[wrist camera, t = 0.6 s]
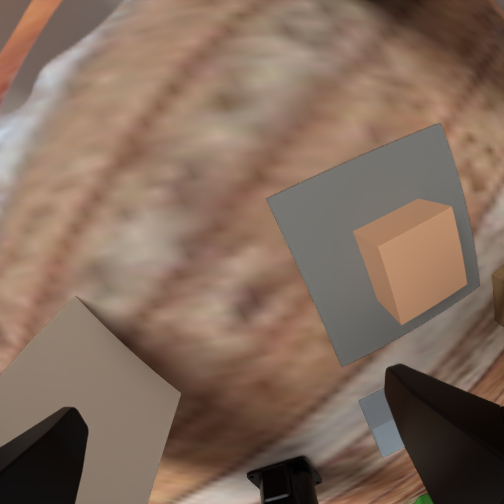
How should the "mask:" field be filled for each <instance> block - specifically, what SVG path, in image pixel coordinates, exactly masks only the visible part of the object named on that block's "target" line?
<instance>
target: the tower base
mask: <svg viewBox="0 0 504 504" xmlns="http://www.w3.org/2000/svg"><path fill="white" fill-rule="evenodd" d="M266 200H267V202H268V204H269V207H270V209H271V211H272V213H273V215H274V217H275V219H276V221H277V223H278V225H279V228H280V230H281V232H282V234H283V236H284V238H285V240H286V243H287V245H288V247H289V249H290V251H291V253H292V255H293V258H294V260H295V262H296V264H297V266H298V269H299V271H300V273H301V275H302V277H303V280H304V282H305V284H306V286H307V288H308V291H309V293H310V295H311V297H312V300H313V302H314V304H315V306H316V309H317V311H318V313H319V315H320V318H321V320H322V322H323V325H324V327H325V329H326V331H327V334H328V336H329V338H330V341H331V343H332V345H333V348H334V350H335V352H336V355H337V357H338V359H339V362H340V364H341V366H342V367H344V366H346V365H348V364H350V363H352V362H354V361H356V360H358V359H360V358H362V357H364V356H366V355H368V354H370V353H372V352H373V351H375V350H377V349H379V348H381V347H383V346H385V345H387V344H388V343H390V342H392V341H394V340H396V339H397V338H399V337H401V336H403V335H404V334H406V333H408V332H410V331H411V330H413V329H415V328H416V327H418V326H420V325H421V324H423V323H425V322H426V321H428V320H430V319H431V318H433V317H434V316H436V315H438V314H439V313H441V312H442V311H444V310H445V309H447V308H449V307H450V306H452V305H453V304H455V303H456V302H458V301H459V300H460V299H462V298H463V297H465V296H466V295H468V294H469V293H471V292H472V291H473V290H475V289H476V288H478V287H479V286H480V282H479V274H478V266H477V259H476V253H475V247H474V241H473V235H472V230H471V225H470V221H469V216H468V211H467V207H466V203H465V199H464V195H463V191H462V187H461V183H460V180H459V176H458V173H457V170H456V166H455V163H454V160H453V157H452V153H451V150H450V147H449V145H448V142H447V139H446V136H445V133H444V130H443V128H442V125H441V123H438V124H435V125H432V126H429V127H427V128H425V129H422V130H420V131H417V132H415V133H412V134H410V135H407V136H405V137H403V138H400V139H398V140H395V141H393V142H391V143H388V144H386V145H383V146H381V147H379V148H376V149H374V150H372V151H369V152H367V153H365V154H362V155H360V156H358V157H356V158H353V159H351V160H349V161H346V162H344V163H342V164H340V165H337V166H335V167H333V168H331V169H329V170H326V171H324V172H322V173H320V174H317V175H315V176H313V177H311V178H309V179H307V180H304V181H302V182H300V183H298V184H296V185H294V186H291V187H289V188H287V189H285V190H283V191H281V192H279V193H277V194H274V195H272V196H270V197H268V198H266Z"/></svg>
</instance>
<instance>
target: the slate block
mask: <svg viewBox="0 0 504 504" xmlns="http://www.w3.org/2000/svg"><path fill="white" fill-rule="evenodd" d="M359 403H360V406H361V408H362V411H363V413H364V416H365V418H366V421H367V423H368V426H369V428H370V431H371V433H372V435H373V437H374V439H375V442H376V444H377V446H378V448H379V450H380V453H381V455H382V457H383V458H384V457H386V456H388V455H390V454H392V453H394V452H396V451H398V450H400V449H402V448H404V447H405V446H404V444H403V442H402V440H401V437H400V435H399V432H398V430H397V427H396V424H395V421H394V419H393V416H392V413H391V411H390V408H389V405H388V403H387V400H386V398H385V393H384V388H383V389H381V390H379V391H377V392H375V393H373V394H371V395H369V396H367V397H365V398H363V399H361V400H359Z"/></svg>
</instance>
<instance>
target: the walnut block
mask: <svg viewBox="0 0 504 504" xmlns="http://www.w3.org/2000/svg"><path fill="white" fill-rule="evenodd" d="M492 282H493V293H494V309H495V320H496V321H497V322H498V323H500V324H501V325H502V326H504V265H503V266H502V267H501V268H499V269H498V270H497V271H496V272H494V273H493V274H492Z"/></svg>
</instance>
